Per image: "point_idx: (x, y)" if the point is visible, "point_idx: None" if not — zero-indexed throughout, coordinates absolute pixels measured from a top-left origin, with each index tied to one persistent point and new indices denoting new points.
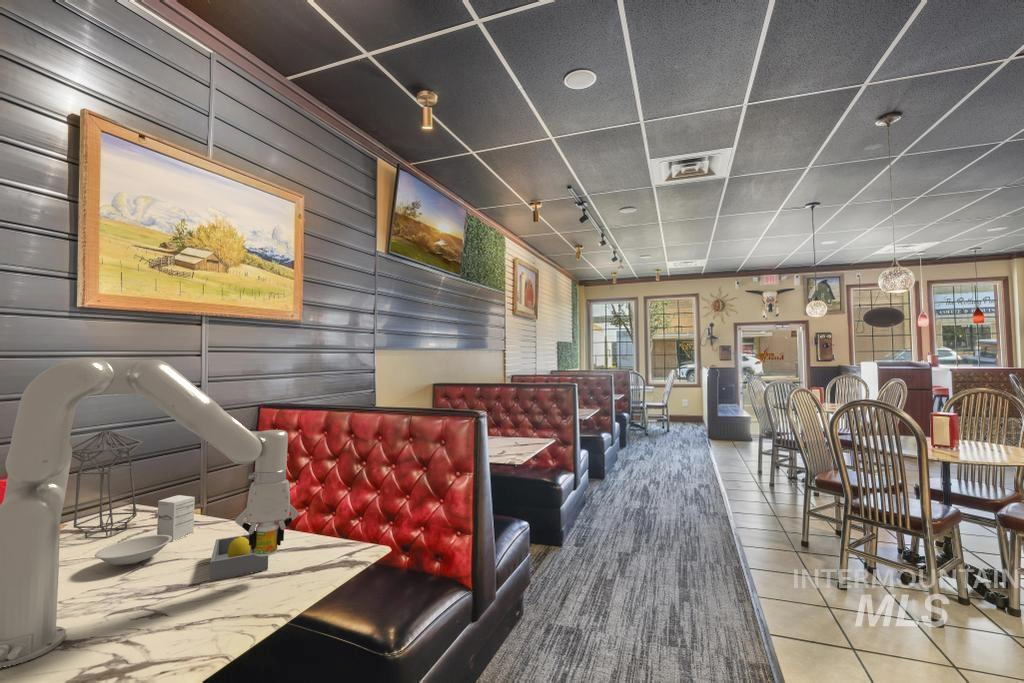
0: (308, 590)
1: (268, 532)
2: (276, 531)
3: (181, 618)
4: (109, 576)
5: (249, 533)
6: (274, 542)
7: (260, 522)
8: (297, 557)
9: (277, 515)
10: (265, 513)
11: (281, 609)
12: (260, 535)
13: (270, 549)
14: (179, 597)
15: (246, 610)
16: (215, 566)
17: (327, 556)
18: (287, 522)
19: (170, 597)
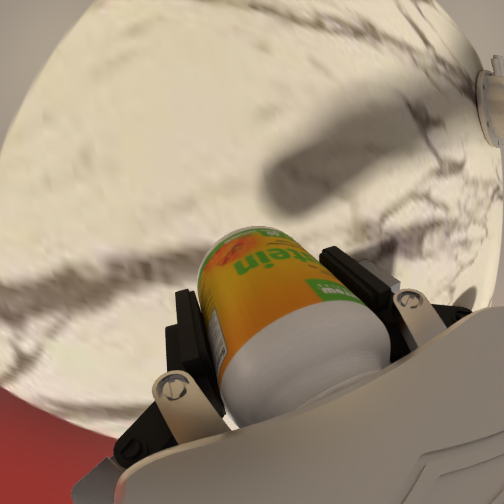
0: (52, 115)
1: (289, 305)
2: (222, 350)
3: (382, 70)
4: (458, 301)
5: (409, 289)
6: (214, 287)
7: (425, 345)
8: (163, 371)
9: (270, 493)
10: (464, 440)
11: (129, 7)
12: (338, 286)
13: (227, 247)
14: (406, 186)
15: (237, 27)
16: (380, 278)
17: (74, 362)
18: (149, 435)
19: (417, 194)
